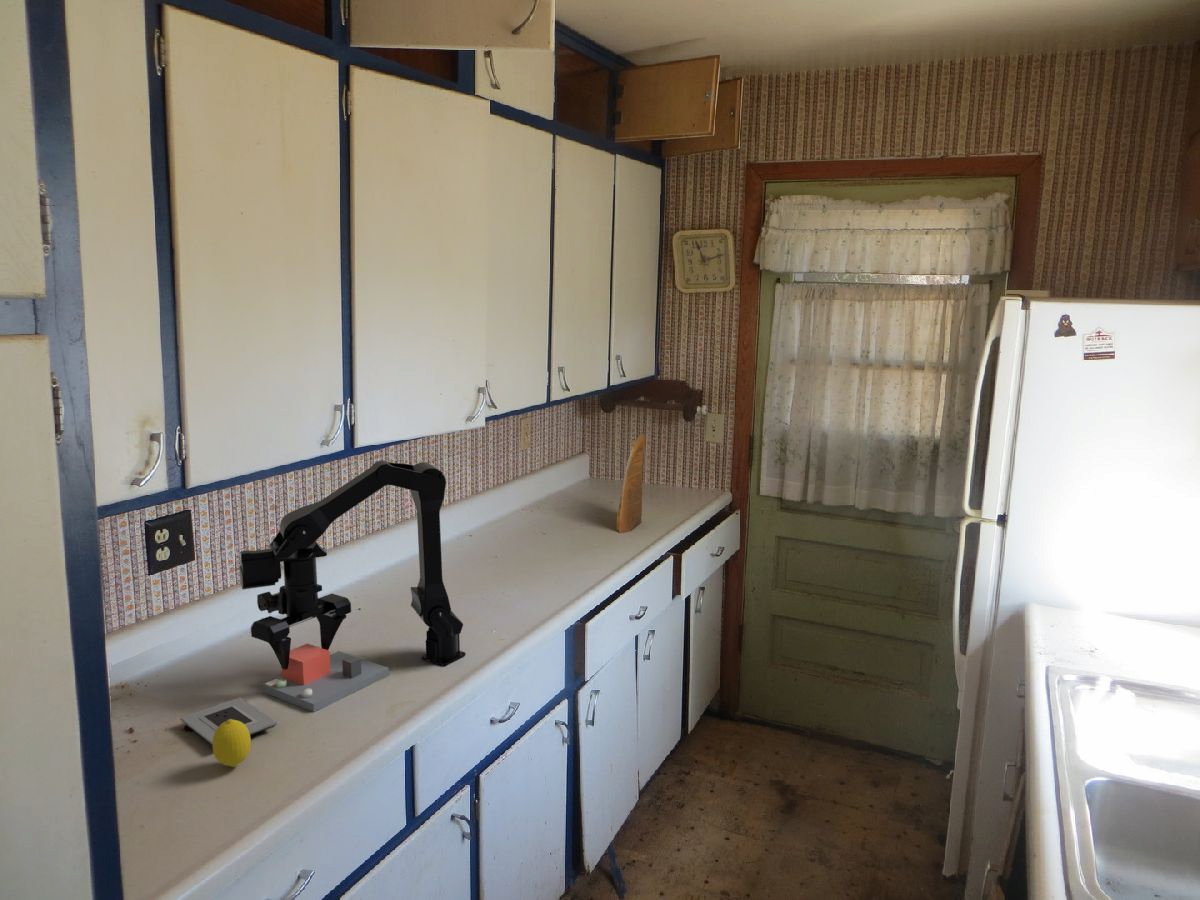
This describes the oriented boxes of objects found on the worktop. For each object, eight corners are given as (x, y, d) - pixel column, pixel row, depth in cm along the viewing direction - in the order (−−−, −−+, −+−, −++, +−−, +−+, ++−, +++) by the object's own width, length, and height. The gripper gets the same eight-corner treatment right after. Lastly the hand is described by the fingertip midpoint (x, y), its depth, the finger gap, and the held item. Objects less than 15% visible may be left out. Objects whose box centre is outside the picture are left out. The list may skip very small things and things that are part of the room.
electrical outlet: (277, 733, 153) (276, 720, 153) (216, 757, 146) (215, 743, 145) (240, 708, 162) (240, 696, 162) (181, 729, 155) (180, 716, 154)
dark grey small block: (352, 670, 173) (352, 655, 173) (361, 673, 172) (360, 658, 171) (342, 674, 171) (342, 659, 171) (351, 678, 170) (351, 663, 169)
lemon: (207, 774, 140) (203, 726, 139) (227, 756, 145) (223, 709, 144) (240, 778, 139) (236, 730, 138) (259, 759, 145) (256, 712, 143)
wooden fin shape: (650, 519, 287) (652, 432, 281) (632, 535, 269) (633, 442, 264) (630, 517, 289) (631, 430, 283) (610, 533, 271) (611, 441, 266)
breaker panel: (339, 658, 182) (338, 646, 182) (389, 675, 175) (388, 663, 174) (262, 691, 168) (262, 679, 167) (313, 712, 160) (313, 698, 160)
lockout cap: (308, 665, 175) (307, 643, 175) (330, 673, 172) (329, 650, 171) (281, 677, 170) (280, 654, 169) (304, 685, 167) (302, 662, 166)
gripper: (312, 560, 180) (316, 634, 183) (228, 586, 164) (234, 667, 167) (351, 570, 174) (354, 647, 177) (268, 599, 158) (274, 682, 161)
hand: (305, 660), depth 171 cm, fingers open, 9 cm apart
